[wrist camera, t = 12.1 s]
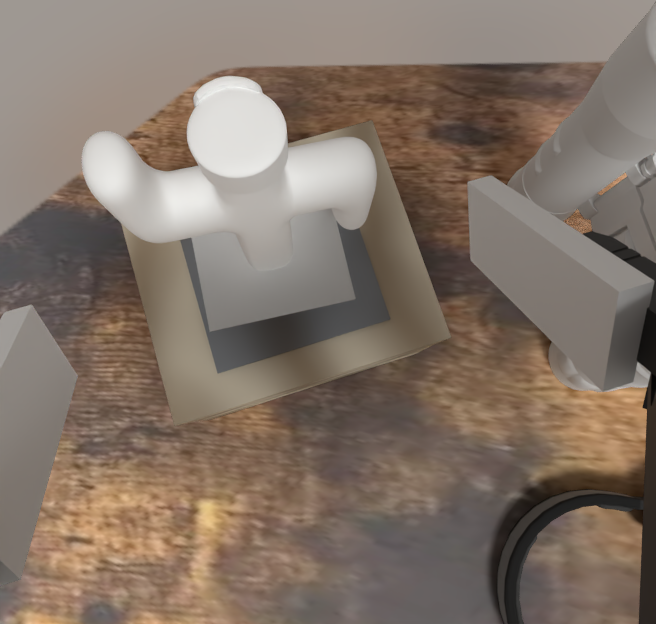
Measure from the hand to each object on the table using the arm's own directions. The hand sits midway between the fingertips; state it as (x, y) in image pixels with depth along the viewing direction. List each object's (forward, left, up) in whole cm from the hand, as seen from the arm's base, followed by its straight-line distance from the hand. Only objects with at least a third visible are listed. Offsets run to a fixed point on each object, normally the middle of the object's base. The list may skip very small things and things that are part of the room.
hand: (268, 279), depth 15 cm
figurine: (0, -4, -13) cm, 14 cm away
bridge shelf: (-1, -4, -21) cm, 21 cm away
